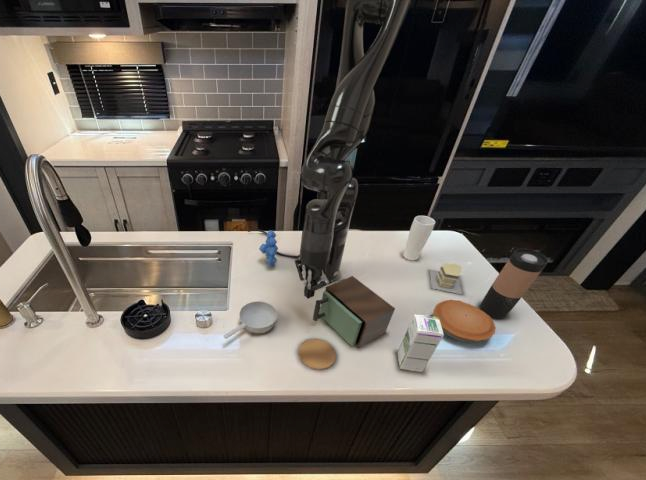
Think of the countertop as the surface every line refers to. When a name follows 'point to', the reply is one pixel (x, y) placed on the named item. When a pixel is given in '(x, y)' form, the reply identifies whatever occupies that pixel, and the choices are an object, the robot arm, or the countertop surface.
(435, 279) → the stacked layers on plate
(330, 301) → the cupboard door
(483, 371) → the countertop surface
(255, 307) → the grey frying pan
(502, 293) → the travel mug
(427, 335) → the syrup box
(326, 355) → the cork mat
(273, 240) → the grapes
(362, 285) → the cupboard
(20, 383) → the countertop surface
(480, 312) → the pie
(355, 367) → the countertop surface
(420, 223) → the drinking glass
